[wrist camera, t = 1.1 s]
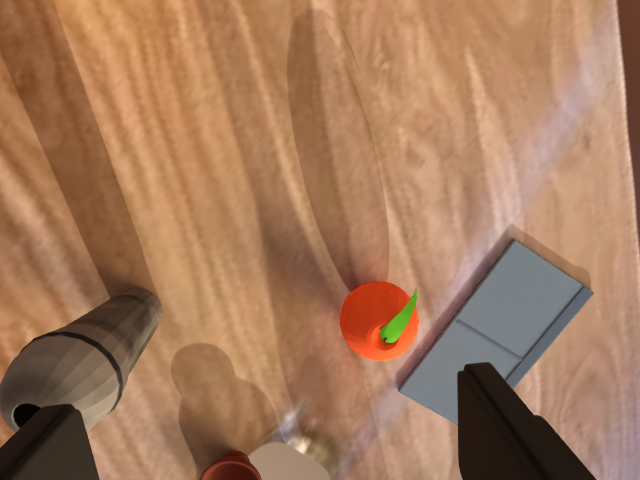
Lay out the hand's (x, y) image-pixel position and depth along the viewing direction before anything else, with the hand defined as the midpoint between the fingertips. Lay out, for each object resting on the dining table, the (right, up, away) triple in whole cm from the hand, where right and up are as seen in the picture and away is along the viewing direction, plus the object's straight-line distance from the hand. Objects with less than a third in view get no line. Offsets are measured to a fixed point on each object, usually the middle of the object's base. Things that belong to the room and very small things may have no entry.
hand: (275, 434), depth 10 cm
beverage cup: (-16, -2, +29) cm, 33 cm away
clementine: (+7, -1, +29) cm, 30 cm away
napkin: (+18, -5, +30) cm, 36 cm away
